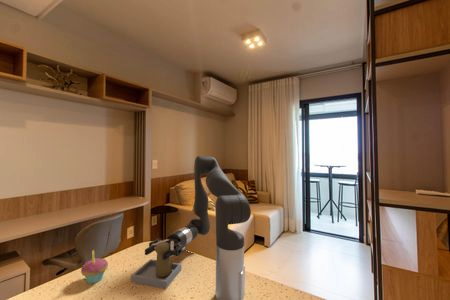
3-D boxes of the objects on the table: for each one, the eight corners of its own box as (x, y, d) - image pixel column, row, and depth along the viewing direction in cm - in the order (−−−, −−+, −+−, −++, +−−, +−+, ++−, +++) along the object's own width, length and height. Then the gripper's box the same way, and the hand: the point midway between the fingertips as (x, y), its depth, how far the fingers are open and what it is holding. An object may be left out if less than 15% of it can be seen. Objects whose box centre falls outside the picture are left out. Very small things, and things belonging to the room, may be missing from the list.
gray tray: (181, 270, 86) (181, 263, 86) (166, 289, 74) (166, 281, 74) (150, 265, 89) (150, 259, 89) (131, 282, 77) (131, 275, 77)
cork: (167, 277, 78) (165, 245, 78) (152, 277, 79) (150, 246, 80) (174, 269, 83) (172, 240, 84) (160, 269, 85) (158, 240, 86)
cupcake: (103, 284, 76) (104, 251, 76) (76, 288, 74) (76, 253, 74) (110, 271, 84) (110, 240, 84) (85, 274, 82) (86, 243, 82)
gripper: (167, 227, 97) (139, 241, 83) (194, 232, 92) (169, 248, 77) (167, 244, 97) (139, 260, 83) (193, 250, 92) (169, 269, 77)
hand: (154, 255), depth 80 cm, fingers open, 8 cm apart
